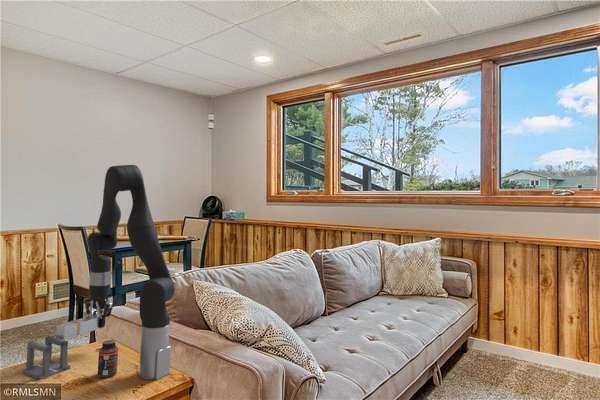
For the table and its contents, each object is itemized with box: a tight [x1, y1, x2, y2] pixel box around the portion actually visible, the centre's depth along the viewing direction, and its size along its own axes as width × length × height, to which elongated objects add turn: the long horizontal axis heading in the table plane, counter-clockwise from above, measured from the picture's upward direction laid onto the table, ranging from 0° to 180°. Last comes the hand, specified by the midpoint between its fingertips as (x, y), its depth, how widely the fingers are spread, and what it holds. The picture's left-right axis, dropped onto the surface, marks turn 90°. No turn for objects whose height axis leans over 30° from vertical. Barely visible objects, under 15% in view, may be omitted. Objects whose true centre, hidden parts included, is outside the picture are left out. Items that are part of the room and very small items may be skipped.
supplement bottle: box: [97, 339, 119, 379], centre depth 130 cm, size 6×6×11 cm
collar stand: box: [21, 335, 71, 381], centre depth 131 cm, size 10×10×10 cm
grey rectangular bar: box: [55, 313, 107, 341], centre depth 143 cm, size 4×17×5 cm, turn 156°
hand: (97, 326), depth 149 cm, fingers closed on grey rectangular bar, 4 cm apart
